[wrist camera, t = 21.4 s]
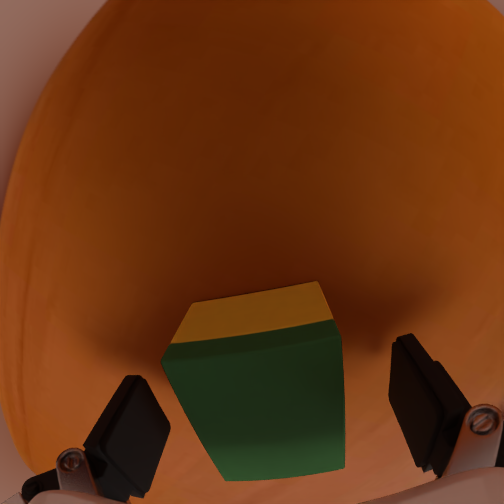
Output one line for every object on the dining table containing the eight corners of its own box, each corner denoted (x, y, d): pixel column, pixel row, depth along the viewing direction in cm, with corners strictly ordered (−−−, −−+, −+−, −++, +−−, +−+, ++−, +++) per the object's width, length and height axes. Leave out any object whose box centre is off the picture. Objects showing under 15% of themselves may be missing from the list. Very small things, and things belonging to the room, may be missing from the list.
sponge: (191, 302, 11) (158, 361, 7) (317, 279, 11) (341, 335, 7) (234, 419, 13) (224, 481, 9) (331, 406, 12) (344, 468, 9)
